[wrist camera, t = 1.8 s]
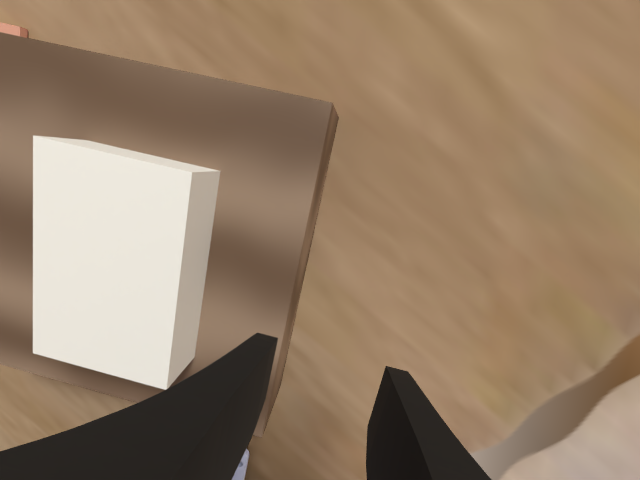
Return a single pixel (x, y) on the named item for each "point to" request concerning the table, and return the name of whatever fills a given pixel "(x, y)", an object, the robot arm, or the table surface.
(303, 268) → the plate
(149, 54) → the table surface
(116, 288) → the tile
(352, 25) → the table surface
